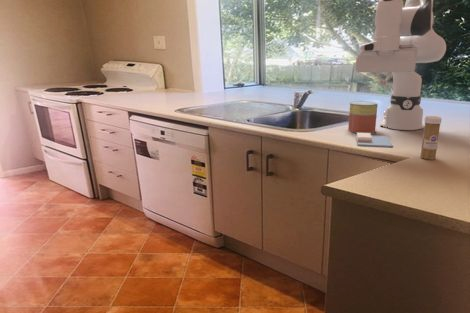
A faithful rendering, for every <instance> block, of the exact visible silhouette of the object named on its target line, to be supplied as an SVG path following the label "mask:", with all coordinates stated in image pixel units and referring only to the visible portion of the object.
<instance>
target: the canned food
mask: <svg viewBox="0 0 470 313" xmlns="http://www.w3.org/2000/svg"><path fill="white" fill-rule="evenodd" d="M378 105H379V103H378V102H376V101H366V100H365V101H364V100H362V101H361V100H358V101H350V102H349V114H348V128H347V131H348V130H349V131H348V132H350V131H351V133H356V134H357V133H370V134H373V133H375V132H376V127H377V114H378Z"/></svg>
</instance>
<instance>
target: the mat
mask: <svg viewBox="0 0 470 313" xmlns="http://www.w3.org/2000/svg"><path fill="white" fill-rule="evenodd" d="M371 136H372V142H358V141H357V134H355V141H356V145H357V146H359V147H376V148H379V147H380V148H393V147H394V146H393V145H394V144H393V143H392V142H391V140H390V138H389V137H388V135H375V134H374V135H372V134H371Z"/></svg>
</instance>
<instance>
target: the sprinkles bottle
mask: <svg viewBox="0 0 470 313" xmlns="http://www.w3.org/2000/svg"><path fill="white" fill-rule="evenodd" d="M441 123H442V117H441V116H438V115H437V116H436V115H427V116H425V117H424V125H425V127H424V128H423V132H422V141H421V152H420V156H419V157H420V158H421V159H424V160H435V159H437V149H438V145H439V136H440V129H441Z"/></svg>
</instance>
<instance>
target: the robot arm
mask: <svg viewBox="0 0 470 313" xmlns="http://www.w3.org/2000/svg"><path fill="white" fill-rule="evenodd" d="M403 4H404V6H403ZM376 5H377V6H376V11H375V17H374V29H375V31H374V35H373V40H372V41H368V42H367V43H364V44H361V45H360V46H359V51H360V52H358V54H357V56H356V59H355V63H354V64H355V65H354V71H355V72H356V73H375V76H376V79H377V80H378V83H377V84H378V86H388V81H389V79H390V78H391V77H392V82H393V83H392V94H391V96H390V102H389V103H390V104H389V106H388V107H387V108H386V110H384V111H383V119H382V121H381V122H380V125H379V126H380V127H381V126H383V127H382V128H387V127H388V129H392V130H398V131H399V130H401V131H415V130H416V131H417V130H419V129H420V130H421V129H424V127H425V124H423V116H424V115H423V114H424V109H423V108H422V107H421V101H422V98H421V97H422V96H421V92H422V91H421V89H422V81H423V79H422V76H421V75H420V74H419V73H417V72H416V71H415V70H416V64H428V63H434V62H439V61H440V60H441V59H442V58H443V57H444V56H445V54H446V51H447V44H446V41H445V39H444V37H442V36H440V35H439V34H437V32H435V31H434V29H433V25H434V19H435V18H434V12H433V7H434V0H405V3H403V0H378V1H377V4H376ZM382 73H386V75H387V76H386V78H385V79H381V78H380V76H381V74H382Z"/></svg>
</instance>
